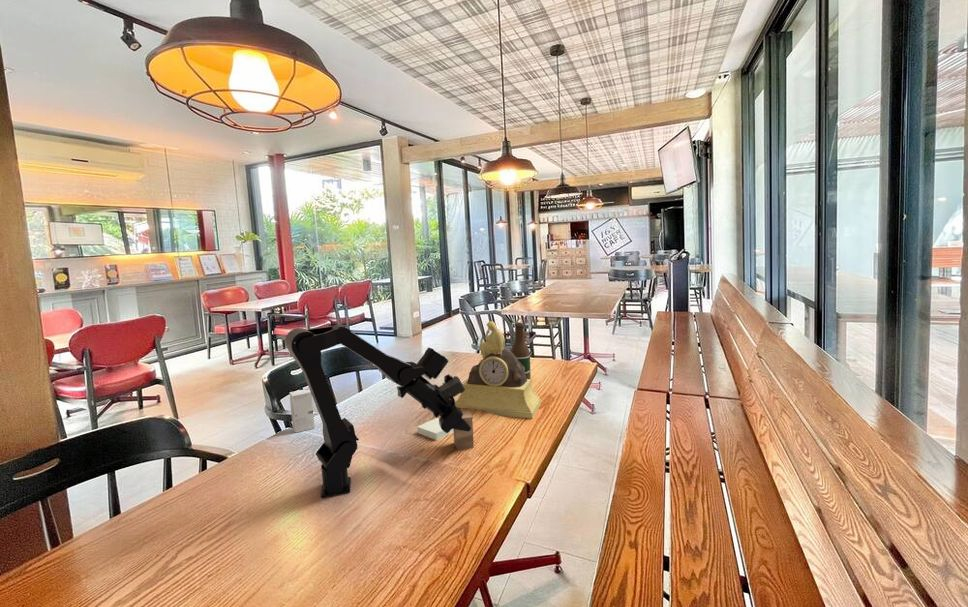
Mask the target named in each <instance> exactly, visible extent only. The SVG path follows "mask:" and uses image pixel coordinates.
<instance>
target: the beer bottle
mask: <svg viewBox="0 0 968 607" xmlns="http://www.w3.org/2000/svg"><path fill="white" fill-rule="evenodd" d="M514 327H515V332H514V333H515V335H514V337H515V338H514V343H513V344H512V347H511V350H510V351H511V352H512V353H513V354H514V355H515V357H516V358H517V359H518V361H519V362H520V363H521V364H522V365H523V366H524V368H525V375H526V378H527V379H531V354H530V352H531V351H530V348H529V346H528V345H527V344H526V340H525V330H524V329H525V328H524V327H525V325H524V323H523V322H516V323H515V324H514Z"/></svg>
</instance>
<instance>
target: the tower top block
mask: <svg viewBox="0 0 968 607" xmlns="http://www.w3.org/2000/svg"><path fill="white" fill-rule="evenodd" d="M439 418H440V417H437V418H436V417H435V418H433V419H431V420H429V421H427V422H425V423H422V424H421V425H418V426H417V428H416V429H417V430H416V431H417V434H419V435H421V436H424V437H426V438H429V439H431V440H435V441H438V440H441V439H442V438H445V437H446V436H448V435H449V434H452V433H454V431H453V429H451V430H450V432H449V433H446V432H444V431H443V430H442V429H441V427H440V425H439Z"/></svg>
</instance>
